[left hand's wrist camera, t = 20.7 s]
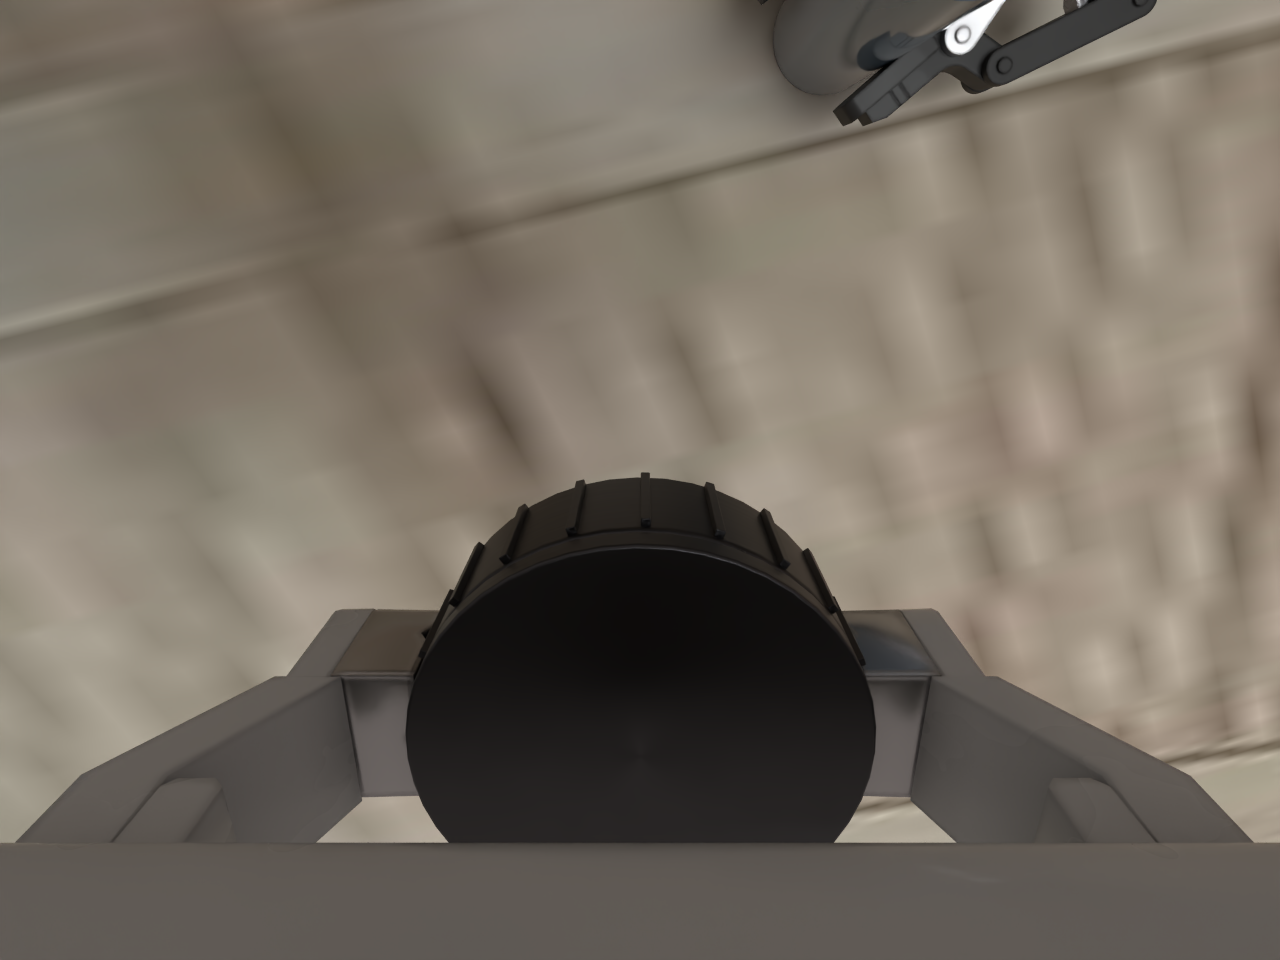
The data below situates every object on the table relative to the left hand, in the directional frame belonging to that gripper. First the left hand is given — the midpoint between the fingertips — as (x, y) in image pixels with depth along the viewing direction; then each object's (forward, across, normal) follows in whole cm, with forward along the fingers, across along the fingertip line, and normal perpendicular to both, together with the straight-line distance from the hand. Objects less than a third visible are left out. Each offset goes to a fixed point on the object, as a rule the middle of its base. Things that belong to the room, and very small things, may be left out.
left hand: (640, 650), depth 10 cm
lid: (-2, 0, 0) cm, 2 cm away
